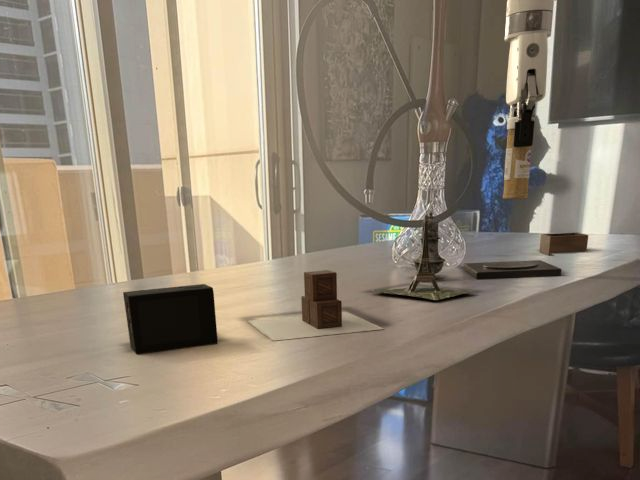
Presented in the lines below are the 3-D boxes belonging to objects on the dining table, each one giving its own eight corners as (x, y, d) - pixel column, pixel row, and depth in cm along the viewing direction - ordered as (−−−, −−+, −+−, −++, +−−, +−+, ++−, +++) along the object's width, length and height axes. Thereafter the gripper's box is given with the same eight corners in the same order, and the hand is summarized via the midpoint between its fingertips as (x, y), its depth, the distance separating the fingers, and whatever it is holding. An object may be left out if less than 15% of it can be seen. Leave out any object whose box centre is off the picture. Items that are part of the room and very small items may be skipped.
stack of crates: (247, 321, 100) (244, 272, 97) (345, 311, 103) (344, 263, 100) (272, 341, 86) (269, 284, 84) (384, 329, 90) (385, 274, 87)
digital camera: (207, 336, 91) (202, 282, 88) (218, 344, 86) (213, 286, 84) (129, 346, 88) (121, 290, 85) (136, 354, 83) (127, 295, 81)
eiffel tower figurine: (367, 294, 117) (366, 210, 111) (408, 287, 122) (410, 206, 117) (436, 303, 106) (439, 209, 100) (478, 294, 111) (483, 205, 106)
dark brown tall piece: (406, 280, 131) (407, 212, 126) (433, 277, 133) (435, 210, 128) (423, 283, 126) (425, 212, 121) (451, 280, 128) (454, 210, 123)
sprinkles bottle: (525, 198, 125) (532, 115, 120) (499, 199, 127) (505, 117, 122) (529, 197, 129) (536, 116, 123) (504, 198, 131) (510, 118, 125)
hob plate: (539, 266, 139) (540, 258, 138) (560, 275, 125) (561, 267, 125) (463, 269, 141) (464, 261, 140) (476, 279, 127) (476, 270, 126)
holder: (575, 250, 162) (577, 232, 160) (586, 253, 154) (588, 235, 153) (539, 252, 163) (540, 234, 161) (548, 255, 155) (550, 236, 154)
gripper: (565, 15, 109) (553, 143, 116) (538, 36, 125) (529, 148, 132) (516, 19, 110) (507, 146, 117) (495, 39, 125) (489, 150, 132)
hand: (519, 146), depth 124 cm, fingers closed on sprinkles bottle, 4 cm apart
